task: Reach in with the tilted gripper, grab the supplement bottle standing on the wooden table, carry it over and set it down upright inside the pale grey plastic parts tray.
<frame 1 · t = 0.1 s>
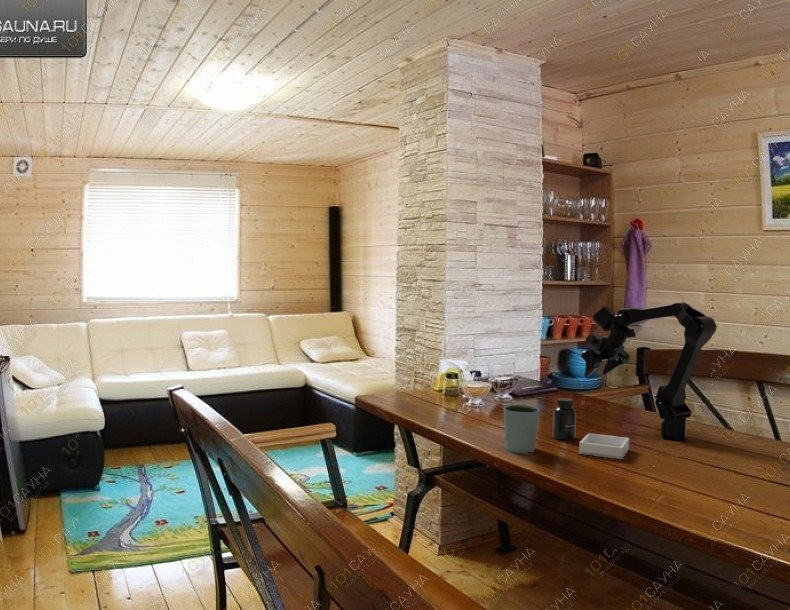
hand: (594, 375, 232), 15 cm above the table, tool tilted 35°, fingers open, 9 cm apart
parts tray: (604, 452, 191), on the table
grey-green cup: (520, 449, 195), on the table
supplement bottle: (564, 438, 207), on the table
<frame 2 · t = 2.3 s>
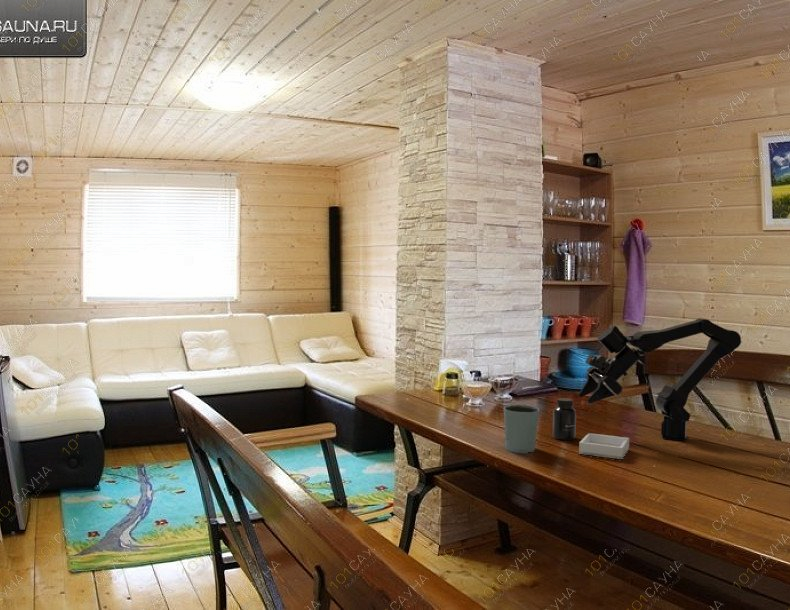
hand: (583, 399, 206), 12 cm above the table, tool tilted 45°, fingers open, 9 cm apart
nothing on the table moved.
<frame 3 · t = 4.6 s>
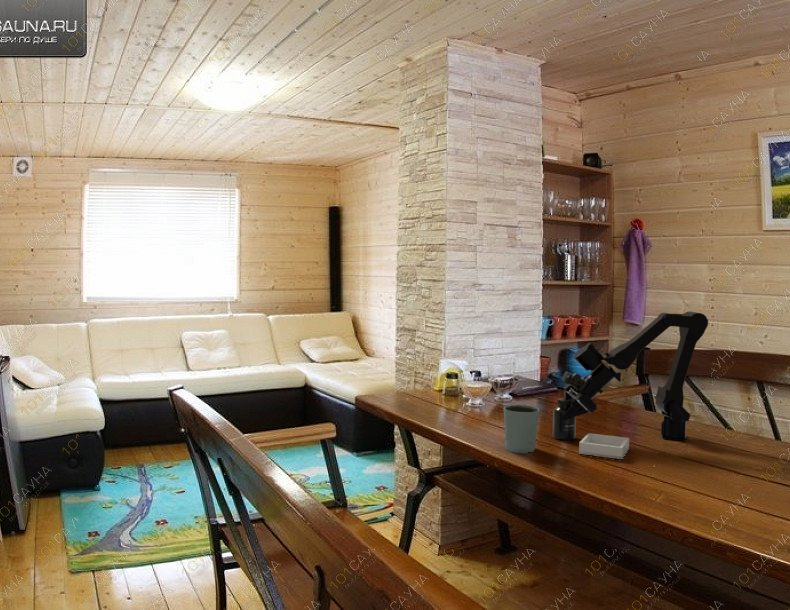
hand: (559, 416, 206), 7 cm above the table, tool tilted 45°, fingers closed on supplement bottle, 7 cm apart
supplement bottle: (564, 438, 207), on the table, touching gripper
everything else where it was.
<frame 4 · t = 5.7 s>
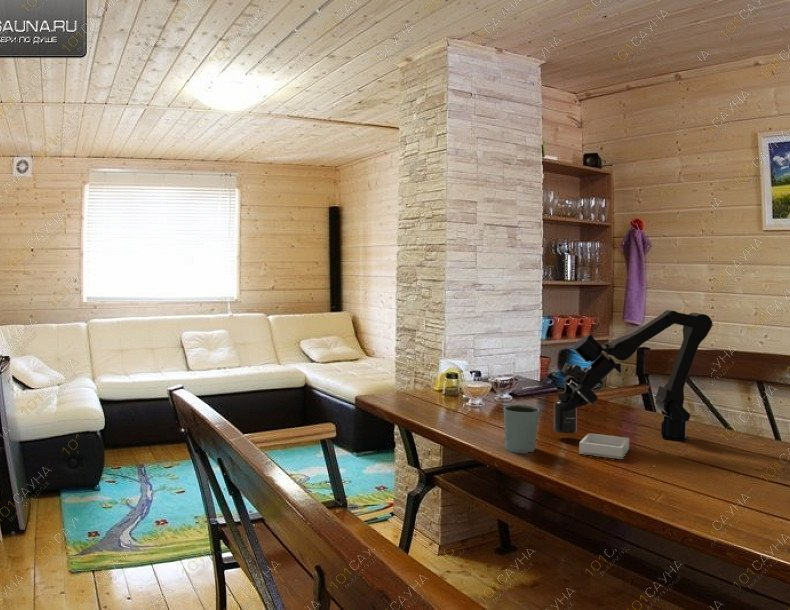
hand: (560, 408, 206), 9 cm above the table, tool tilted 45°, fingers closed on supplement bottle, 6 cm apart
supplement bottle: (565, 433, 205), point 2 cm above the table, touching gripper
everything else where it was.
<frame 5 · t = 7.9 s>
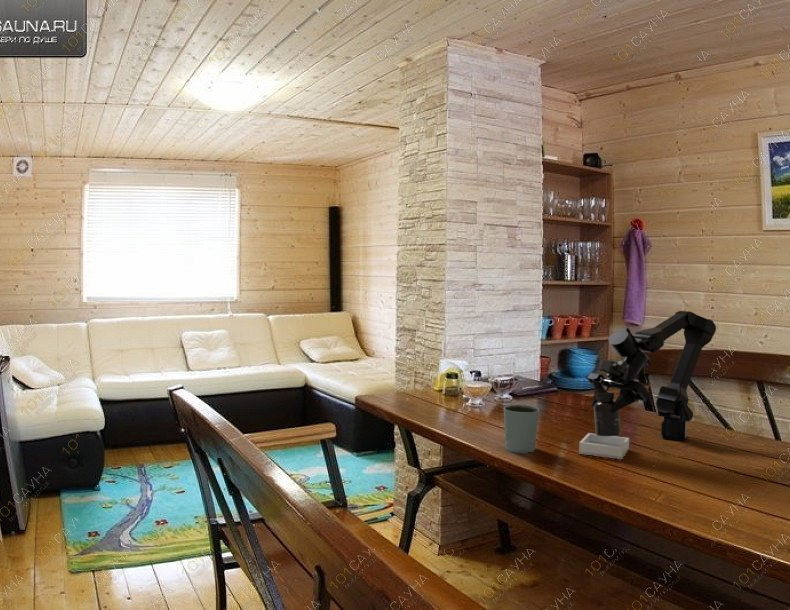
hand: (602, 409, 190), 13 cm above the table, tool tilted 45°, fingers closed on supplement bottle, 7 cm apart
supplement bottle: (608, 435, 190), point 5 cm above the table, touching gripper
everything else where it was.
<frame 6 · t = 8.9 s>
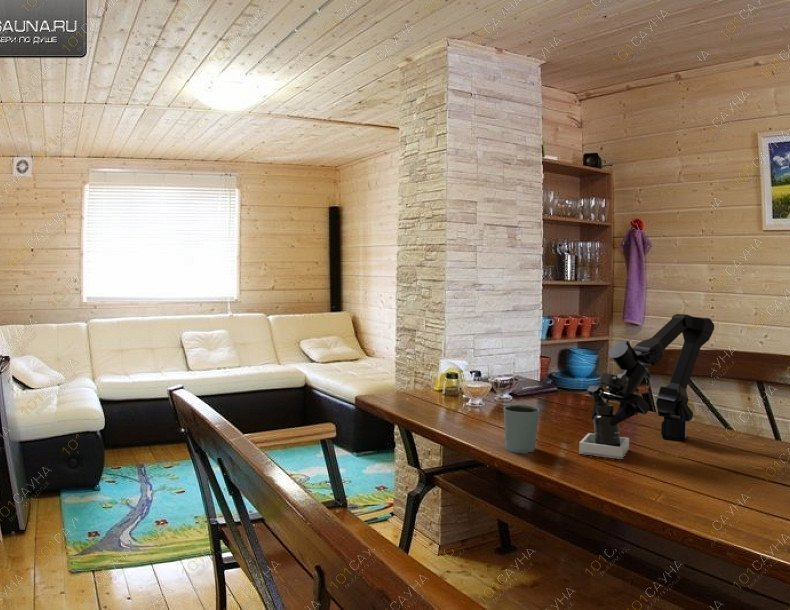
hand: (602, 422, 190), 9 cm above the table, tool tilted 45°, fingers closed on supplement bottle, 7 cm apart
supplement bottle: (608, 448, 190), point 1 cm above the table, touching gripper, parts tray
everything else where it was.
when the fingers open (9 cm above the table, at t = 9.9 s): supplement bottle stays where it is, resting on parts tray.
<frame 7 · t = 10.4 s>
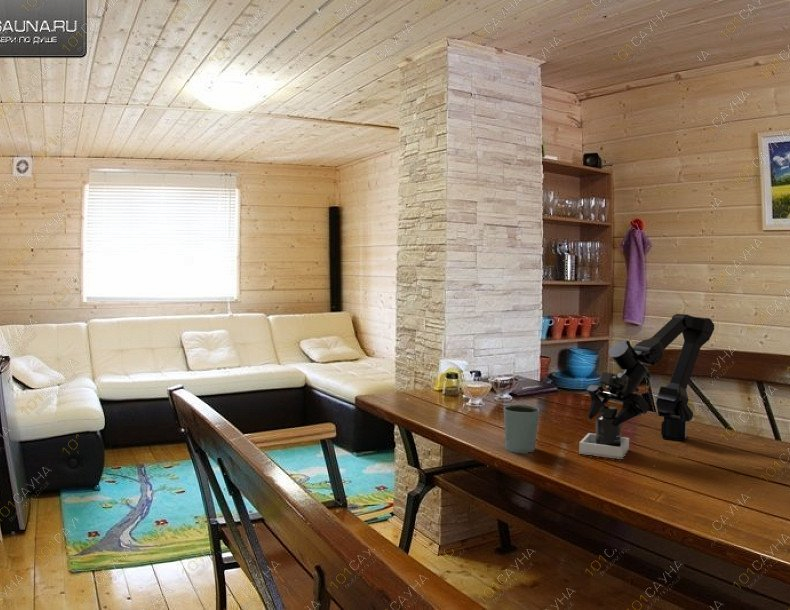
hand: (601, 421, 190), 9 cm above the table, tool tilted 45°, fingers open, 9 cm apart
supplement bottle: (608, 450, 190), point 1 cm above the table, touching gripper, parts tray
everything else where it was.
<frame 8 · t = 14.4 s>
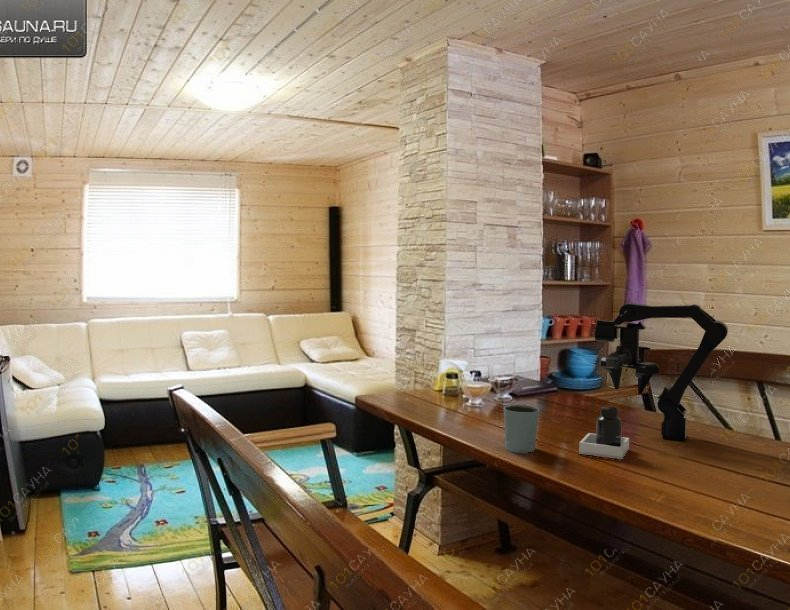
hand: (628, 391, 212), 13 cm above the table, tool pointing down, fingers open, 9 cm apart
supplement bottle: (608, 450, 190), point 1 cm above the table, touching parts tray
everything else where it was.
at the end: supplement bottle 1.4 cm off-centre on the parts tray, point 0.8 cm above the parts tray's base; supplement bottle tilted 0°; the gripper is holding nothing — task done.
